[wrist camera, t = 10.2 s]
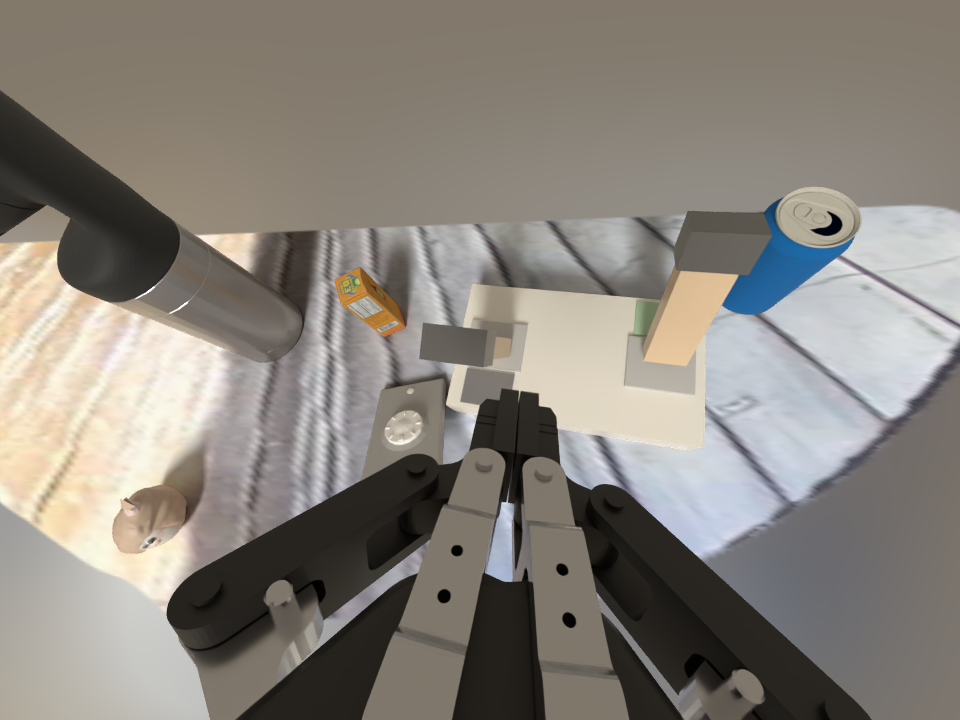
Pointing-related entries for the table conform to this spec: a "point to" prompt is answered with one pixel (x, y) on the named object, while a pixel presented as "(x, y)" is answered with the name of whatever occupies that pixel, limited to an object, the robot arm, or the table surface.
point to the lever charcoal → (462, 345)
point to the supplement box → (369, 302)
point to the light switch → (407, 425)
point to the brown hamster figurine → (149, 519)
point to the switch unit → (584, 365)
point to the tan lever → (702, 279)
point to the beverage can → (796, 246)
